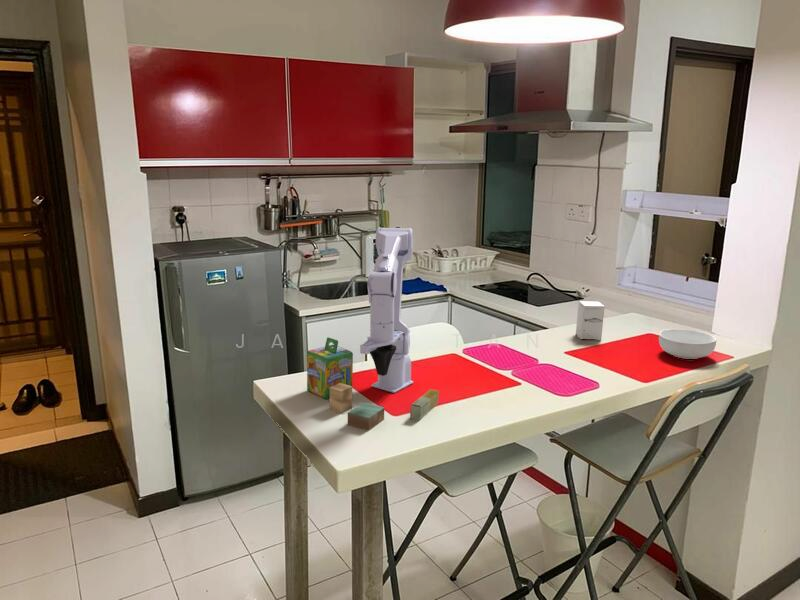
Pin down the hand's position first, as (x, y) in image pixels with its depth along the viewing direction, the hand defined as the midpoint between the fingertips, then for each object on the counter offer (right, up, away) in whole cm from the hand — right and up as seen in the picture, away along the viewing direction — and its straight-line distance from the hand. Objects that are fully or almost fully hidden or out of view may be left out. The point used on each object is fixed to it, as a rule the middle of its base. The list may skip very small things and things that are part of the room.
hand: (382, 374), depth 148 cm
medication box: (+11, -10, +4) cm, 15 cm away
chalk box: (-15, -7, +16) cm, 23 cm away
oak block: (-11, -9, +5) cm, 15 cm away
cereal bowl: (+97, 0, +48) cm, 108 cm away
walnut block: (-2, -9, 0) cm, 9 cm away
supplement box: (+72, +5, +66) cm, 98 cm away
